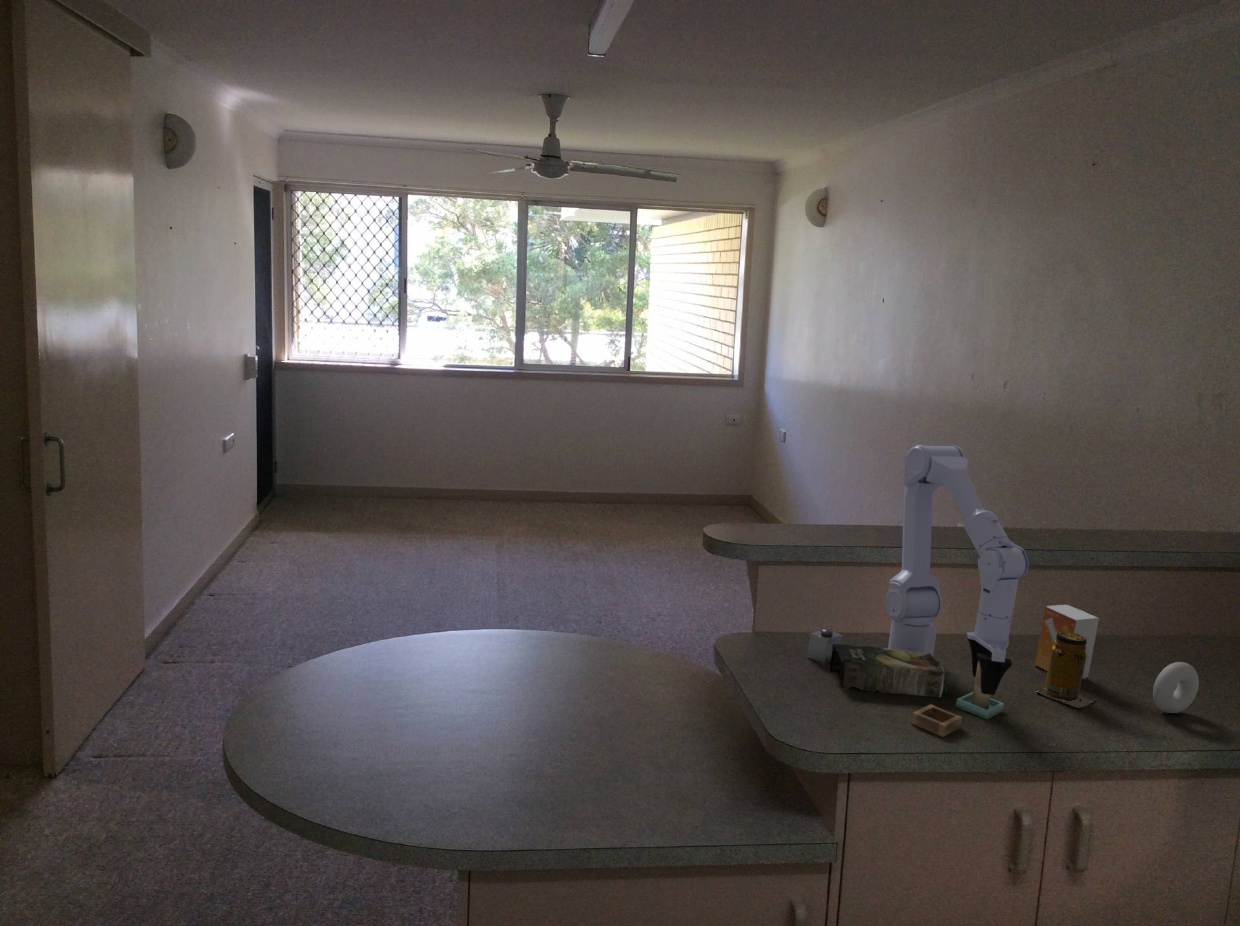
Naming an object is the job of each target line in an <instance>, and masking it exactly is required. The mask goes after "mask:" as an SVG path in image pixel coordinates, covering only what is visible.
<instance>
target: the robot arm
mask: <svg viewBox="0 0 1240 926" xmlns="http://www.w3.org/2000/svg"><path fill="white" fill-rule="evenodd" d="M903 467H904V468H903V512H902V513H903V515H902V544H901V545H902V548H901V549H902V551H901V570H900V571H899V572H898V573H897V574H896V575H894V576H893V577H892V578H891V579H889V581H888V589H887V593H886V596H885V608H886V611H887V614H888V616H889V618H890V619H891V625H890V632H889V639H888V646H887V648H890V649H899V650H908V651H916V652H924V653H931V654H932V656H933V657H934V653H935V652H934V651H935V645H936V639H937V632H938V631H937V627H936V624H935V622H934V619H935V618H937V617H939V615H940V614H941V612H942V608H943V599H942V595H941V589H940V586H941V585H940V581H939V580H938V578H936V577H935V576H934V575H933V574H932V573H931V554H932V553H931V552H932V548H931V547H932V522H933V521H932V518H933V517H932V516H933V493H935V491H937V490H938V489H939V488H940V487H941V486H943V487H944V488H946V490H947V491H948V492H949V494H950V496H951V498H953V499H954V501H955V503H956V504H957V506H958V507H959V509H960V510H961V512H962V513H963V515H964V516H965V522H964V525H963V526H964V527H963V528H964V530H965V532H966V534H967V536H968V537H969V539H970V541H971V542H972V544H973V546H974V548H975V550H976V551H977V553H978V555H979V557H980V558H977V568H978V572H979V574H980V575H979V577H980V578H979V583H980V586H981V590H980V596H979V602H978V610H977V614H976V621H975V626H974V631H968V632H967V633H966V637H967V641H968V644H969V648H970V655H971V668H972V669H971V670H972V676H973V678H975V677H976V671H977V665H978V662H979V664H980V669H981V692H982V694H988V695H991V696H995V694H996V692H997V690H998V688H999V686H1000V683H1001V682H1002V679H1003V677H1004V675H1005V674H1006V672H1008V671H1009V669H1010V668H1011V667H1012V665H1013V661H1012V660H1011V659H1010V658H1006V655H1007V648H1008V647H1009V644H1010V638H1009V637H1010V631H1011V626H1012V619H1013V615H1014V614H1013V613H1014V608H1015V602H1016V595H1017V590H1018V584H1019V579H1020V580H1021V579H1023V578H1024V577H1025V576H1026V574H1027V573H1028V571H1029V559H1028V556H1027V554H1026V550H1025V549H1024V548H1023V547H1021V546H1020V545H1016V544H1015V542H1014V541H1010V538H1009V537H1008V535H1007V533H1006V531H1005V530H1004V528H1003V526H1002V525H1001V523H1000V521H999V517H998V516H997V514H995V512H993V511H990V510H986V509H985V508H984V506H983V504H982V502H981V500H980V497H979V495H978V493H977V491H976V489H975V487H974V484H973V482H972V480H971V478H970V476H969V474H968V470H969V460H968V459H967V457H966V456H965V453H964V451H963V449H962V448H961V447H960V446H958V445H956V444H955V445H921V444H916V445H914V446H912V447H911V448H910V449H909V450H908V451H907V452H906V453H905V454H904V463H903Z"/></svg>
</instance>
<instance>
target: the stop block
mask: <svg viewBox="0 0 1240 926" xmlns="http://www.w3.org/2000/svg"><path fill="white" fill-rule="evenodd" d="M842 638H843V635H842V634H840V633H838V632H835V631H833V629H830V628H827V627H822V628H820V630H818V631H814V632H811V633H809V641H808V650H807V655H806V656H807V658H809V659H811V660H813V661H816V662H817V663H820V664H823V665H826V664H830V662H831V653H832V645H833V644H842Z"/></svg>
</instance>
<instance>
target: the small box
mask: <svg viewBox="0 0 1240 926" xmlns="http://www.w3.org/2000/svg"><path fill="white" fill-rule="evenodd" d="M1042 619H1043V620H1042V624H1041V629H1040V635H1039V638H1038V645H1037V650H1036V657H1035V662H1034V663H1035V664H1034V666H1035V665H1036V666H1039V667H1041V668H1043V669H1044V670H1046V671H1048V667H1049V666H1048V665H1049V662H1050V655H1051V650H1052V647H1053V646H1054V645H1055V641H1056V635H1057V634H1058V633H1059V632H1071V633H1075V634H1078V635H1081V636H1083V637H1084V638H1085V639H1086V640H1087V643H1086V650H1085V652H1086V661H1085V667H1084V672H1083V677H1082V678H1084V677H1088V678H1089V674H1090V669H1091V664H1092V658H1093V653H1094V647H1095V641H1096V637H1097V632H1098V626H1099V620H1100V618H1099V617H1098V616H1095V615H1092V614H1090V613H1088V612H1086V611H1084V610H1081V609H1080V608H1076V607H1074V606H1071V605H1069V604H1058V605H1057V604H1055V605H1046V606H1045V607H1044V613H1043V617H1042ZM1036 666H1035V667H1036ZM1044 670H1043V671H1044ZM1046 671H1045V672H1046Z"/></svg>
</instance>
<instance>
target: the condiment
mask: <svg viewBox="0 0 1240 926" xmlns="http://www.w3.org/2000/svg"><path fill="white" fill-rule="evenodd" d="M1086 643H1087V640H1086V639H1085V638H1084V637H1083V636H1081V635H1078V634H1075V633H1071V632H1059V633H1058V634H1057V635H1056V641H1055V645H1054V646H1053V647H1052V650H1051V655H1050V662H1049V665H1048V666H1049V667H1048V672H1046V677H1045V678H1046V679H1045V683H1044V684H1045V685H1044V689H1045V693H1047V695H1050V696H1051V697H1054V698H1057V699H1062V700H1063V699H1064V700H1066V701H1072V700H1076V699H1077V698H1078V696H1079V695H1081V688H1082V683H1083V682H1082V681H1083V680H1082V677H1083V672H1084V667H1085V661H1086V652H1085V650H1086ZM1038 691H1039V690H1037V691H1036V690H1035V692H1038Z"/></svg>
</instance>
